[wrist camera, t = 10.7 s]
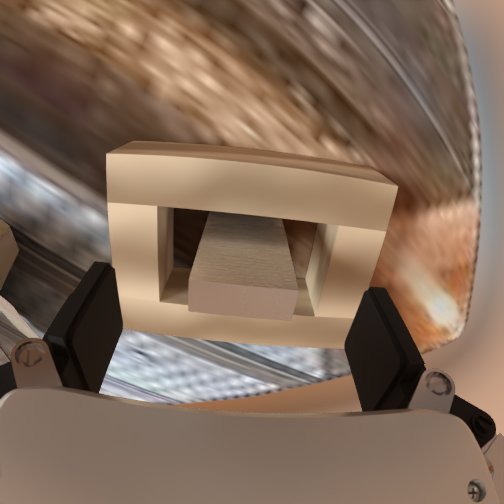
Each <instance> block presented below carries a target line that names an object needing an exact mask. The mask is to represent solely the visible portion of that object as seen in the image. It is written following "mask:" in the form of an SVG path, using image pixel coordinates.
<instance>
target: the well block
mask: <svg viewBox="0 0 504 504" xmlns="http://www.w3.org/2000/svg"><path fill="white" fill-rule="evenodd" d="M106 170H107V202H108V220H109V234H110V246H111V256H112V266H113V267H114V268H115V272H116V280H117V287H118V294H119V301H120V307H121V313H122V319H123V328H124V329H130V330H136V331H143V332H150V333H157V334H164V335H171V336H179V337H187V338H196V339H205V340H214V341H224V342H235V343H246V344H259V345H274V346H290V347H312V348H344V344H345V340H346V337H347V335H348V332H349V330H350V327H351V325H352V322H353V320H354V317H355V315H356V312H357V309H358V307H359V304H360V302H361V299H362V296H363V294H364V292H365V291H366V290H368V288H369V285H370V282H371V279H372V276H373V273H374V270H375V267H376V264H377V261H378V258H379V254H380V251H381V248H382V245H383V241H384V238H385V235H386V231H387V228H388V224H389V221H390V217H391V213H392V210H393V206H394V202H395V198H396V194H397V190H398V186H397V185H396V184H395V183H393V182H392V181H390V180H389V179H388V178H386V177H385V176H383V175H382V174H380V173H379V172H377V171H376V170H374V169H373V168H372V167H367V166H361V165H356V164H351V163H345V162H340V161H334V160H328V159H322V158H316V157H309V156H303V155H296V154H289V153H282V152H274V151H266V150H257V149H248V148H239V147H229V146H218V145H206V144H192V143H176V142H155V141H132V142H130V143H128V144H126V145H124V146H121V147H119V148H117V149H115V150H113V151H111V152H109V153H107V154H106ZM174 208H185V209H196V210H207V211H217V212H227V213H237V214H247V215H256V216H265V217H274V218H283V219H292V220H300V221H309V222H317V223H318V225H317V230H316V234H315V239H314V243H313V248H312V252H311V257H310V261H309V266H308V270H307V274H306V279H296V280H297V284H298V289H299V292H298V296H297V301H296V305H295V309H294V313H293V317H292V321H283V320H270V319H258V318H247V317H236V316H226V315H216V314H207V313H198V312H190V311H188V289H189V277H190V273H191V270H192V268H183V267H174V266H173V230H174Z"/></svg>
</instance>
